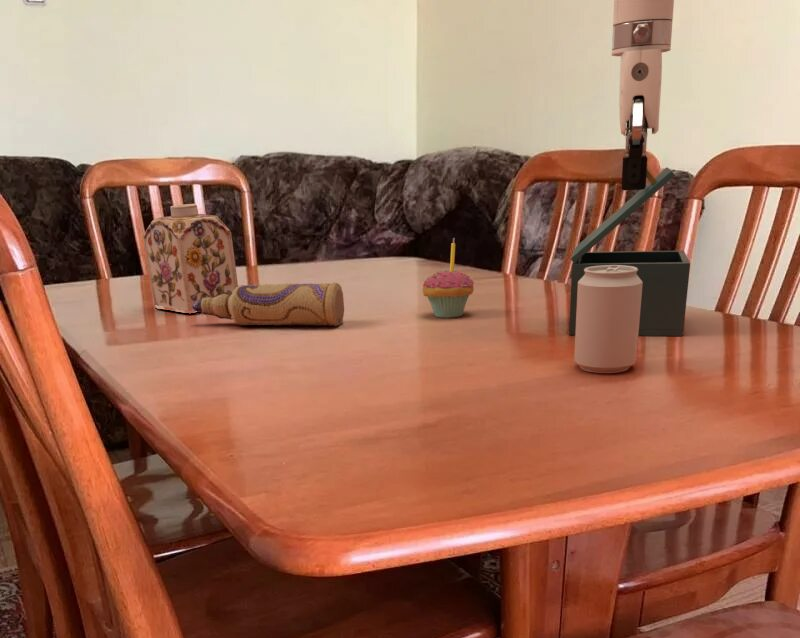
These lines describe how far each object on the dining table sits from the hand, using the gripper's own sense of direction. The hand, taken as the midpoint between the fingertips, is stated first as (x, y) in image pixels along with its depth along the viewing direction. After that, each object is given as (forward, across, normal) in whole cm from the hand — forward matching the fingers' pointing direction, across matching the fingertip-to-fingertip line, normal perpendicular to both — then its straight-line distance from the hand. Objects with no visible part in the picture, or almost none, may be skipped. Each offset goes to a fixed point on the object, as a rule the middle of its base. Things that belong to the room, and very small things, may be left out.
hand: (633, 187), depth 116 cm
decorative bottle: (+18, 0, +56) cm, 59 cm away
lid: (+4, 0, +1) cm, 4 cm away
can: (+19, -25, +2) cm, 32 cm away
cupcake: (+19, +8, +28) cm, 35 cm away
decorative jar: (+18, +14, +78) cm, 81 cm away
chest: (+19, 0, 0) cm, 19 cm away
